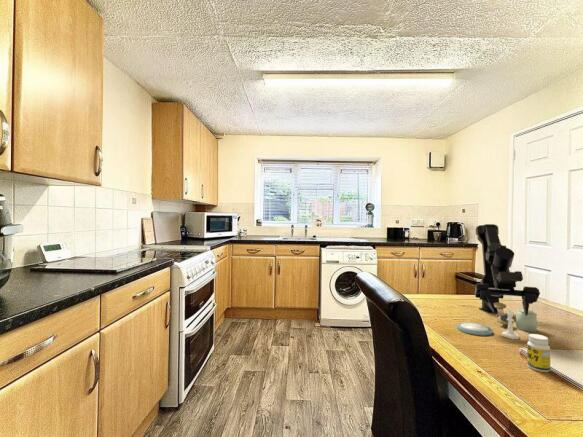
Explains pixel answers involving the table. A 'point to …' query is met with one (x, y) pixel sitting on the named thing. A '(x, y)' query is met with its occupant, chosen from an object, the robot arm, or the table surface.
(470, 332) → the dish
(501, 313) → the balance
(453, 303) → the table surface
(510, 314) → the chess piece
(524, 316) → the sage cup
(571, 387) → the table surface
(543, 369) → the supplement bottle
